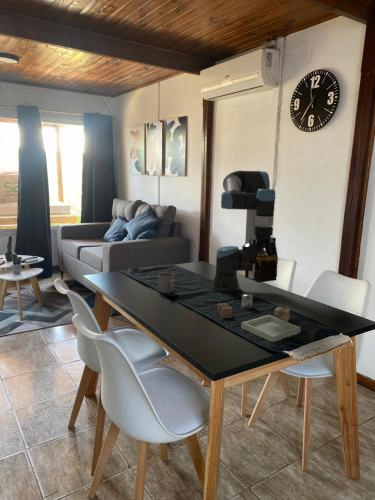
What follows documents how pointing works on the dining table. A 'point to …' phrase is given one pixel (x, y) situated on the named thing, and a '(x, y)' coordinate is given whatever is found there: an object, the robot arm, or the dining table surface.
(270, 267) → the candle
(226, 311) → the walnut block
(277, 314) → the oak block
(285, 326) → the tray
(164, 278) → the mug
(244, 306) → the grey tin
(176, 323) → the dining table surface
